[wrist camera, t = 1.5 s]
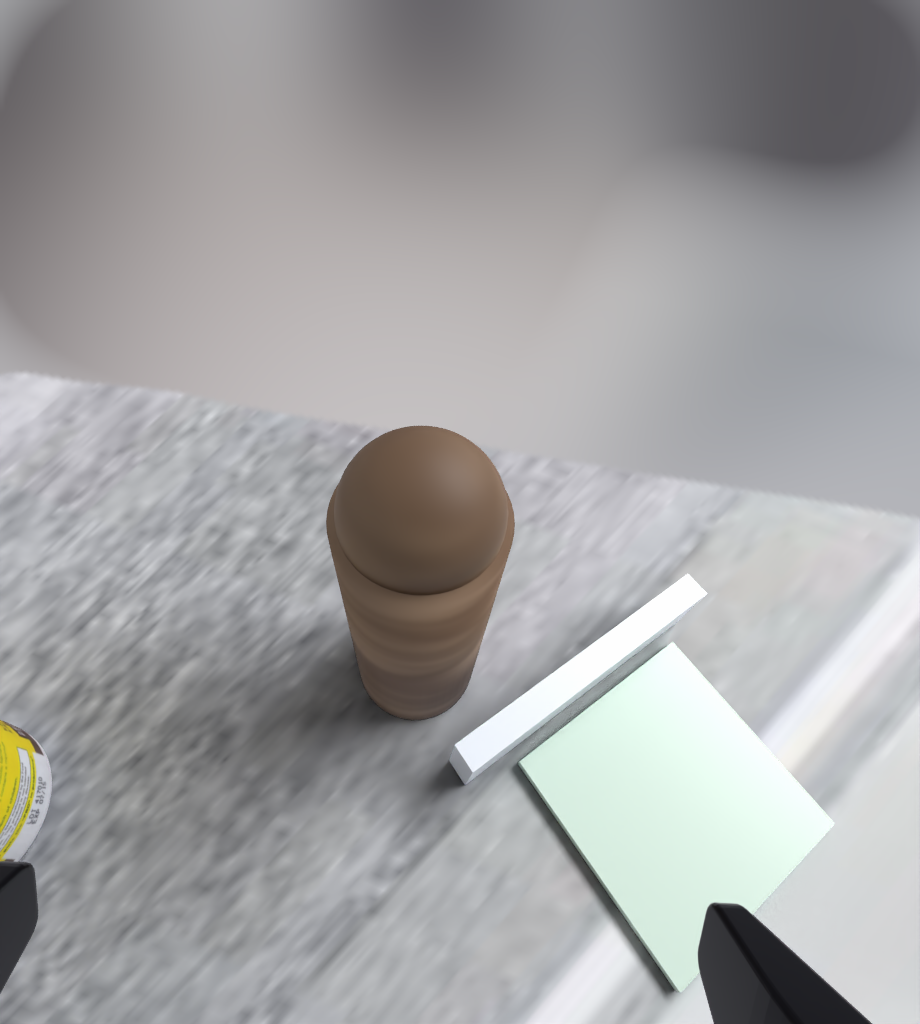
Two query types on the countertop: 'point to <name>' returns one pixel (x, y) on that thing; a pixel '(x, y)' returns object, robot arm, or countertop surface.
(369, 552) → the pepper mill
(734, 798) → the coaster
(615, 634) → the rail
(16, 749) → the supplement bottle
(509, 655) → the countertop surface
